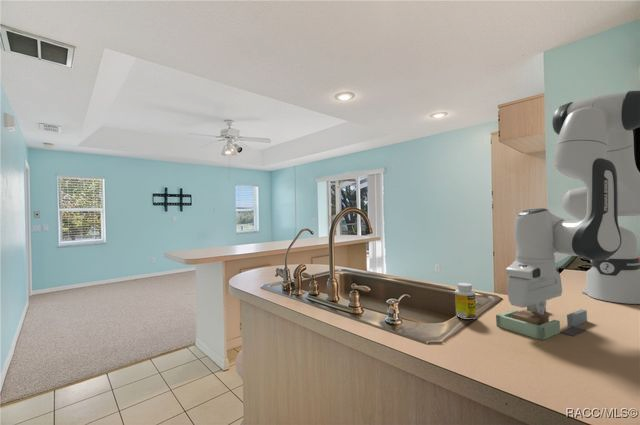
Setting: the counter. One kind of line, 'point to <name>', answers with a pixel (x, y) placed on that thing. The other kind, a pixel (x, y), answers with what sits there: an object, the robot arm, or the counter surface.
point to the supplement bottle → (465, 301)
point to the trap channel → (544, 329)
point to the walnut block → (531, 317)
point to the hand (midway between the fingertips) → (537, 317)
